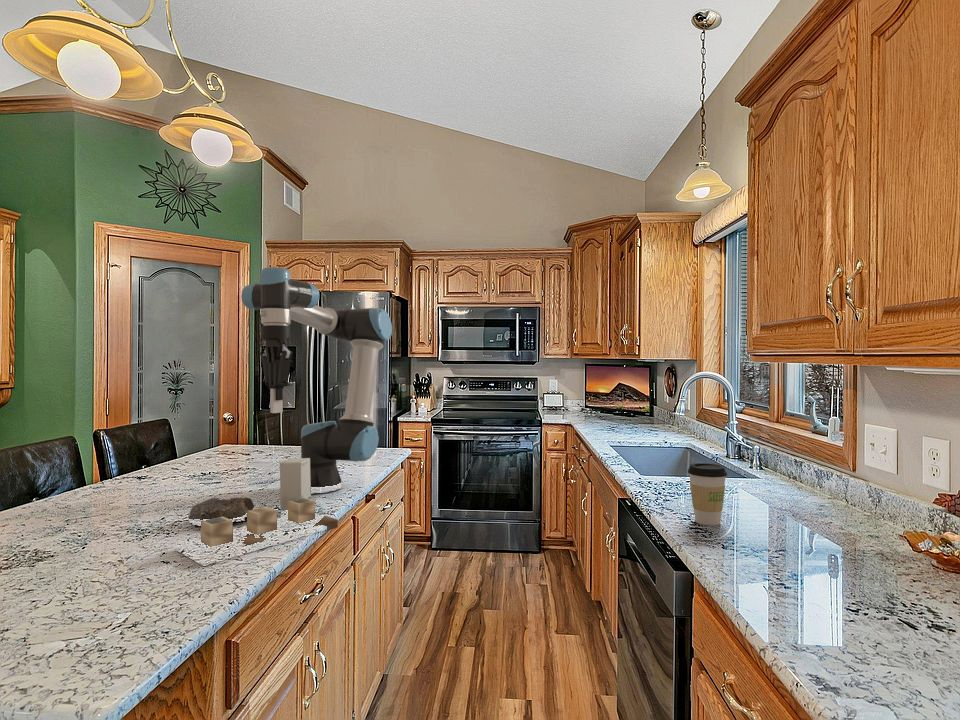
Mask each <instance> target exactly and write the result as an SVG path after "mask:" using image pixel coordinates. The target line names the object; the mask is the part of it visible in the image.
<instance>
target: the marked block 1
mask: <svg viewBox="0 0 960 720" xmlns="http://www.w3.org/2000/svg"><path fill="white" fill-rule="evenodd" d="M233 524H234V523H233V522H232V520H230V519H228V518H225V517H219V518H214V519H210V520H206V521H201V527H200V536H201V542H202V543H204V544H206V545H208V546H210V547H212V546H217V545H220V544H225V543H229V542H233V528H234V527H233Z"/></svg>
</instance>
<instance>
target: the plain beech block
mask: <svg viewBox="0 0 960 720" xmlns="http://www.w3.org/2000/svg"><path fill="white" fill-rule="evenodd" d="M277 514H278V513H277V509H275V508H272V507H270V506H268V505H267V506H262V507H257V508H254V509H253V510H249V511H247V519H246V521H247V523H246V525H247V531H249V532H251V533H254V534H257V535H259V534H263V533H266V532H269V531H273V530H277V517H278V516H277Z"/></svg>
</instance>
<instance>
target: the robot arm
mask: <svg viewBox="0 0 960 720" xmlns="http://www.w3.org/2000/svg"><path fill="white" fill-rule="evenodd" d="M241 290H242V291H241V295H240V297H241V302H242V305H244V306H245V308H247V309H249V310H255V311H258V310H260V313H259V315H260V323H261V324H262V325H261V326H260V338H261V340H263V341H265V345H264V348H265V349H264V351H263V350H262V351H260V352H259V354H260V358H261V362H262V370H263V371H262V372H263V376H264V377H263V379H264V385H265V386H266V387H268V388H269V390H270V391H269V395H270V397H269V398H270V401H269V405H270V413H271V414H279V413H283V412H284V410H283V407H284V405H283V404H284V403H283V402H284V400H283V397H284V396H283V395H284V394H283V393H284V391H283V389H284V388H285V387H288V384H289V378H290V369H291V361H292V357H293V353H294V352H293V350H290V349H289V348H288V342H287V341H290V340H291V338H292V337H291V336H292V331H291V329H292V328H291V326H289V325H291V324H292V321H294V322H297V323H299V324H302V325H305V326H307V327H311V328H314V329H315V330H316V331H317V332H318V333H320V334H322V335H324V336H327V337H330V338H333V339H336V340H340V341H345V342H350V345H351V346H352V347H353V354H352V361H351V366H350V375H349V381H348V388H347V394H346V403H345V409H344V414H343V415H342V416H341V417H340V418H339V419H338V424H337V422H336V420H328V421H321V422H316V423H315V422H314V423H308V424H304V425H302V428H301V432H300V433H301V434H300V454H301V455H300V458H310V482H311V487H325V486H333V485H337V484H339V483H341V482H343V481H342V478H341V475H340V473H339V470H338V467H337V461H346V462H347V461H349V462H355V463H357V462H366V461H369V460H370V459H371V458H372V457H373V456H374V455H375V454H376V453H375V452H376V451H377V448H378V446H379V441H380V440H379V439H380V437H379V431H378V429H377V428H376V427H374V425H375V424H374V421H373V420H372V418H371V412H372V404H373V397H374V396H373V395H374V390H375V389H374V388H375V381H376V374H377V373H376V372H377V364H378V359H379V358H378V357H379V351H380V350H382V349H383V348H384V344H385V342H387V341H388V340H390V339H391V337H392V335H393V334H392V333H393V325H392V321H391V319H390V315H389V314H388V312H387V311H386V310H385V309H383V308H380V307H379V308H377V307H370V308H348V309H347V308H346V309H334V308H332V307H322V306H319V305H318V303H319V301H320V291H319V289H318V287H317V286H316V285H315V284H312V283H310V282H307V281H302V280H297V279H292V276H291V272H290V270H289V269H288V268H285V267H279V266H278V267H277V266H270V267H269V266H268V267H265V268H262V269H261V270H260V282H259V283H252V284H247V285H245V286H244V287H243V288H242V289H241Z"/></svg>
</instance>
